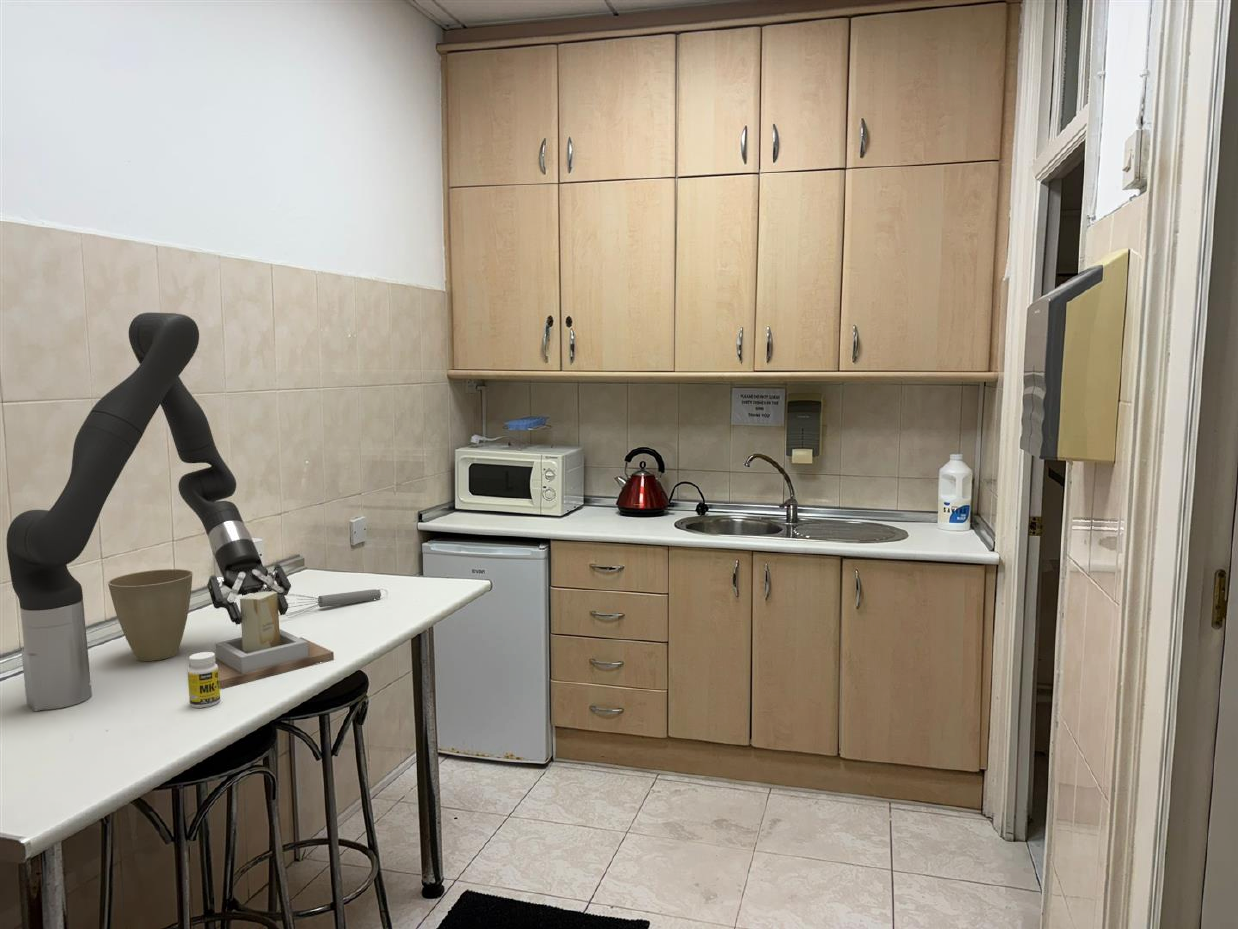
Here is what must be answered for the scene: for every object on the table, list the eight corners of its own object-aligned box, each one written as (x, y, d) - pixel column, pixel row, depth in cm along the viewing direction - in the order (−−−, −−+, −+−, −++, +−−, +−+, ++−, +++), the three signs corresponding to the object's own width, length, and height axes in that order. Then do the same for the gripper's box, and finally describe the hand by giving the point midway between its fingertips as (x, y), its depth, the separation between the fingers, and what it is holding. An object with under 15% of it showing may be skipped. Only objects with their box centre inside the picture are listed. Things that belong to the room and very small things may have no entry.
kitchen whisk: (393, 600, 222) (391, 574, 221) (250, 630, 201) (248, 601, 200) (381, 595, 227) (380, 570, 226) (241, 624, 205) (239, 596, 204)
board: (218, 689, 163) (217, 681, 163) (189, 671, 173) (189, 663, 173) (333, 659, 178) (333, 652, 178) (301, 644, 188) (301, 637, 188)
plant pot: (214, 649, 186) (208, 572, 184) (146, 672, 173) (139, 589, 171) (166, 640, 193) (160, 565, 191) (98, 661, 180) (90, 581, 178)
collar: (242, 673, 166) (241, 657, 166) (216, 658, 175) (215, 643, 175) (308, 657, 175) (307, 641, 175) (280, 643, 184) (279, 628, 184)
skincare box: (263, 663, 172) (258, 599, 170) (242, 662, 173) (237, 598, 171) (282, 652, 178) (278, 590, 177) (262, 651, 179) (258, 590, 178)
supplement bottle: (200, 710, 153) (197, 661, 152) (184, 705, 156) (180, 657, 155) (226, 701, 157) (223, 653, 156) (209, 696, 160) (206, 649, 159)
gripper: (200, 543, 173) (228, 614, 166) (274, 532, 183) (303, 598, 176) (192, 567, 177) (219, 636, 171) (265, 554, 187) (293, 620, 180)
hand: (262, 617), depth 173 cm, fingers open, 8 cm apart
